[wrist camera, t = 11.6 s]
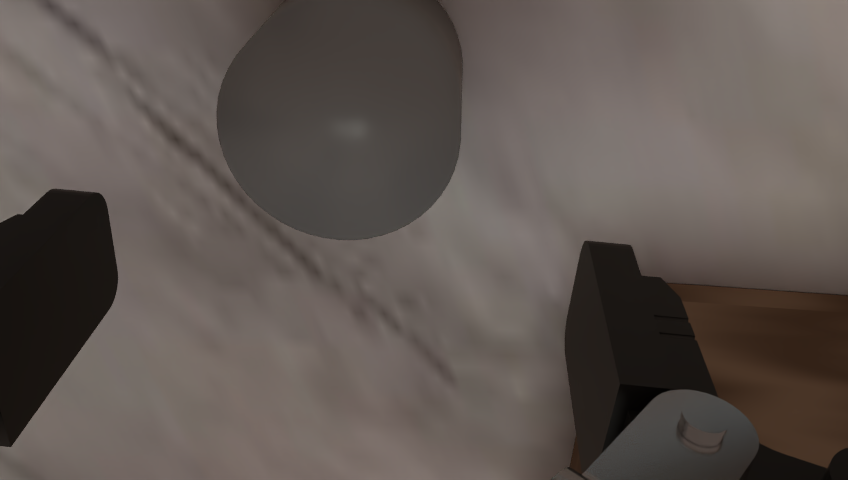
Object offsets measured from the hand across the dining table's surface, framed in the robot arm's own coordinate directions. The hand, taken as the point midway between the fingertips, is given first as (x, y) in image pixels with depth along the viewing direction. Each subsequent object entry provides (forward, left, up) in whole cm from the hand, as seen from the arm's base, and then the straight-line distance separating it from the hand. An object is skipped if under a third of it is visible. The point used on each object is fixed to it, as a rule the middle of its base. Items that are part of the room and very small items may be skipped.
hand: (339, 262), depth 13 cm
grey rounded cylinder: (-1, 0, -10) cm, 10 cm away
